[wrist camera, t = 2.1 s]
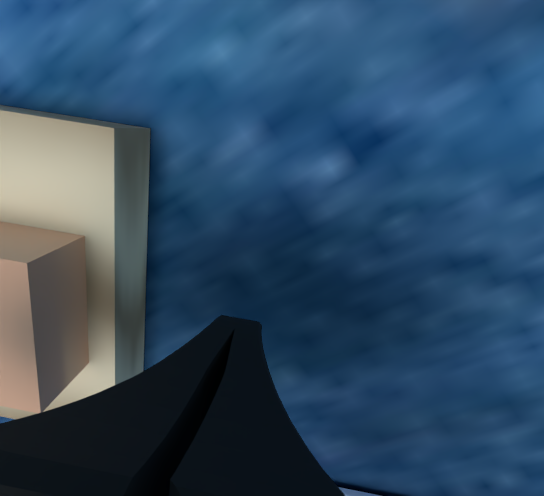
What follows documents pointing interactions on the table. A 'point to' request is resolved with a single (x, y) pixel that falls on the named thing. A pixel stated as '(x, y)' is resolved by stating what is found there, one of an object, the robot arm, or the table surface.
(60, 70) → the table surface
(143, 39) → the table surface
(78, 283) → the tile
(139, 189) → the board
